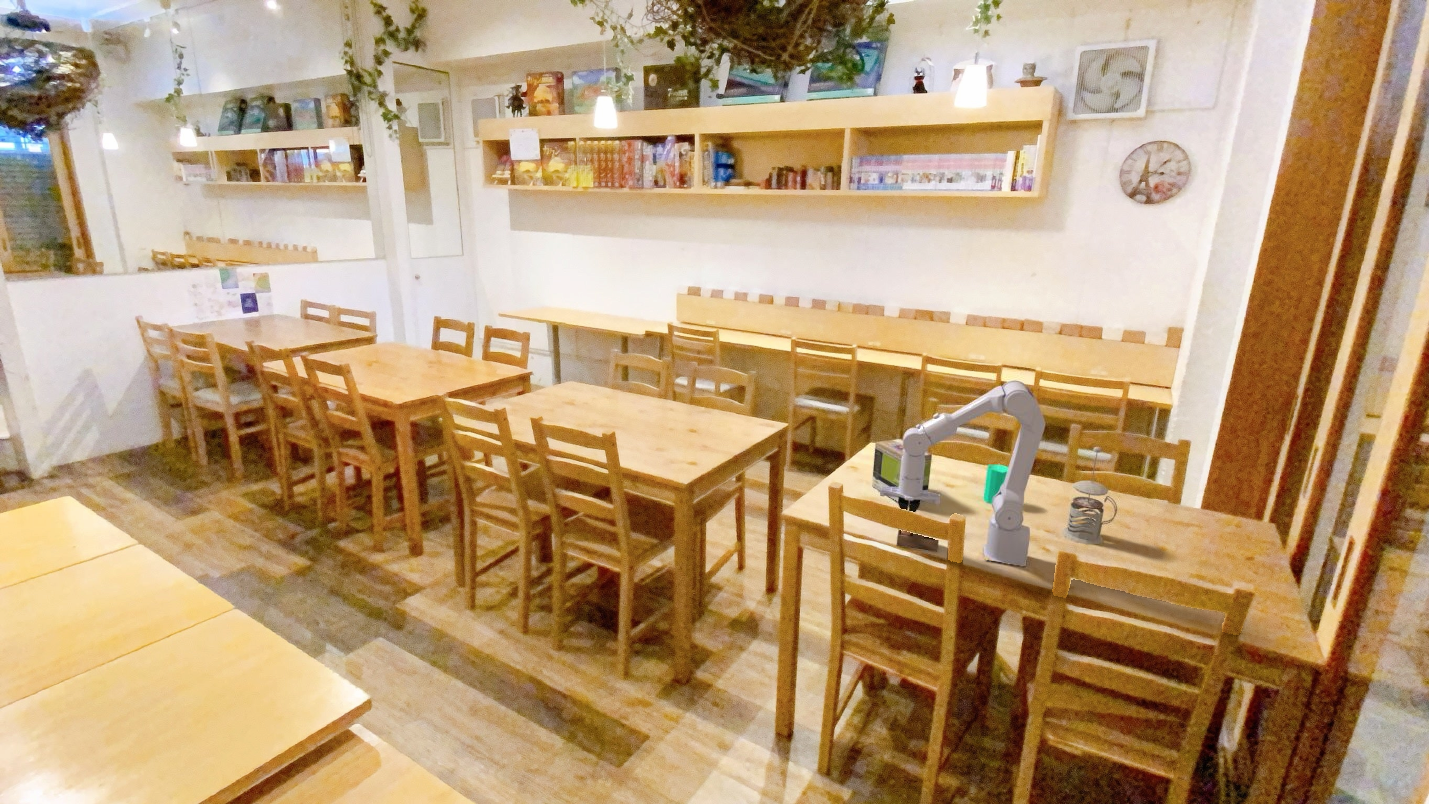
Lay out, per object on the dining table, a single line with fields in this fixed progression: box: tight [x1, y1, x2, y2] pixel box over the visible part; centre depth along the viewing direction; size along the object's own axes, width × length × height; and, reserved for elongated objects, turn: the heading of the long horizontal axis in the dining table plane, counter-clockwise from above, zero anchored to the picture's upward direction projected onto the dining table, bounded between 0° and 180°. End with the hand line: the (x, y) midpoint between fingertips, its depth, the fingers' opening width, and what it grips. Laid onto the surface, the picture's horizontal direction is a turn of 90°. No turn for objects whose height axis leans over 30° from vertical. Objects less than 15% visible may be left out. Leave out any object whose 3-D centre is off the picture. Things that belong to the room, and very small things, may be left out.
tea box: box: [871, 438, 933, 504], centre depth 206 cm, size 15×10×15 cm
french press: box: [1061, 446, 1118, 545], centre depth 179 cm, size 10×12×25 cm
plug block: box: [896, 529, 940, 553], centre depth 177 cm, size 10×4×3 cm, turn 71°
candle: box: [982, 464, 1009, 505], centre depth 202 cm, size 6×6×12 cm
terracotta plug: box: [901, 530, 911, 536], centre depth 177 cm, size 4×4×4 cm
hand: (906, 524), depth 177 cm, fingers closed, pressing on terracotta plug
